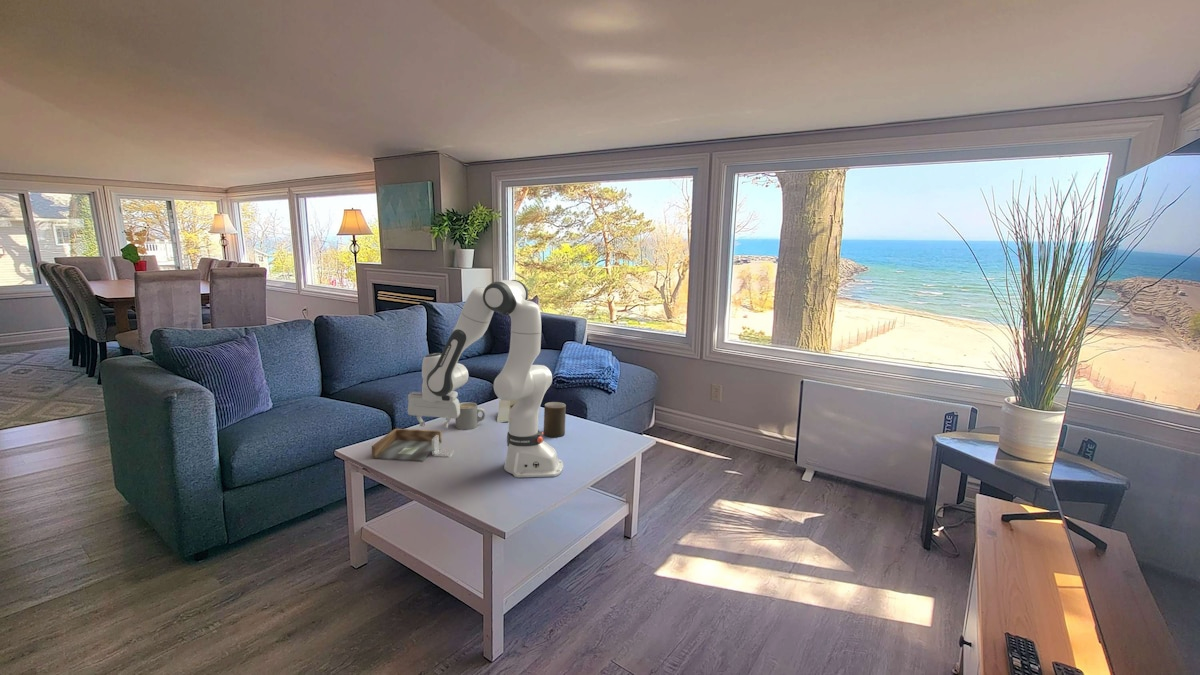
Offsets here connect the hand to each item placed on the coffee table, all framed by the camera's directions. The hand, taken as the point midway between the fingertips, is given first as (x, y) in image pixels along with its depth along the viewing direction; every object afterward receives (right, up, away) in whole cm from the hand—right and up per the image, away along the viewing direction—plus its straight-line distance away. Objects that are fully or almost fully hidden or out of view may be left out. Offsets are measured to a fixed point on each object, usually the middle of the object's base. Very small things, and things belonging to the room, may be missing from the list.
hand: (433, 426), depth 199 cm
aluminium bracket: (+3, -11, +2) cm, 12 cm away
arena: (-12, -10, +4) cm, 16 cm away
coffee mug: (+6, -6, +34) cm, 35 cm away
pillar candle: (+45, -8, +28) cm, 54 cm away
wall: (+24, -5, +47) cm, 53 cm away
